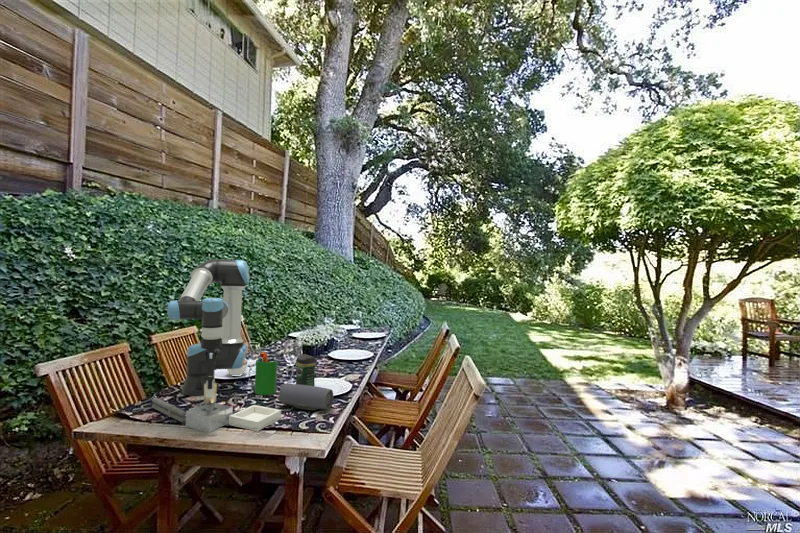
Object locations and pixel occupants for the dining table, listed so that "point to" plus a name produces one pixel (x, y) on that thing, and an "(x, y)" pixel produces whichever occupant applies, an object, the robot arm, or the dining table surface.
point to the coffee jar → (305, 370)
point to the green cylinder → (265, 375)
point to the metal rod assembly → (169, 409)
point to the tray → (255, 417)
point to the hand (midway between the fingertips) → (210, 391)
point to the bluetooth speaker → (306, 396)
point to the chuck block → (208, 417)
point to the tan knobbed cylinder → (210, 399)
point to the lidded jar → (239, 370)
